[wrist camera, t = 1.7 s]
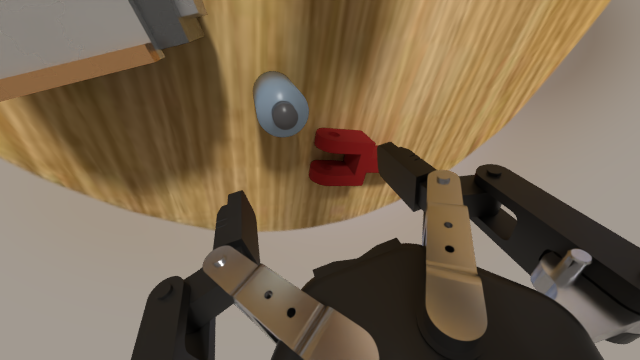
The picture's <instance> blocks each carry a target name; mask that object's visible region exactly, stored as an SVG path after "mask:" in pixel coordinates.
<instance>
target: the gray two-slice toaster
mask: <svg viewBox="0 0 640 360" xmlns="http://www.w3.org/2000/svg"><path fill="white" fill-rule="evenodd" d="M205 15H208V14H207V12H206V9H205V7H204V4H203V2H202V0H0V102H1V101H5V100H9V99H12V98H16V97H20V96H24V95H28V94H32V93H36V92H40V91H44V90H48V89H52V88H56V87H59V86H63V85H67V84H71V83H75V82H79V81H83V80H87V79H91V78H95V77H99V76H103V75H107V74H110V73H114V72H118V71H122V70H126V69H130V68H134V67H138V66H142V65H146V64H150V63H154V62H156V61H158V60H160V59H162V58H165V56H164V54H163V52H162V50H161V49H165V48H169V47H173V46H177V45H181V44H185V43H189V42H191V41H194V40H196V39H199V38H201V37H204V33H203V31H202V29H201V26H200V24H199V21H198V19H197V17H201V16H205Z"/></svg>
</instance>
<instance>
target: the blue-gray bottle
mask: <svg viewBox="0 0 640 360" xmlns="http://www.w3.org/2000/svg"><path fill="white" fill-rule="evenodd" d="M253 97H254V102H255V107H256V113H257V118H258V121H259V123H260V125H261V126H262V128H263V129H264V130H265V131H266V132H268V133H269V134H271V135H273V136H277V137H289V136H292V135H294V134H296V133H298V132H299V131H300V130H301V129H302V128H303V127H304V125H305V124H306V122H307V119H308V114H309V108H308V104H307V101H306V99H305V97H304V96H303V95H302V94H301V92H300V91H299V90H298V89H297V88H296V87H295V85H294V84H293V83H292V82H291V81H290V80H289V78H288V77H286V76H285V75H284V74H282V73H280V72H276V71H269V72H266V73H263V74H262V75H260V76H259V77H258V78H257V80H256V81H255V83H254V86H253Z"/></svg>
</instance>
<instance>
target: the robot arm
mask: <svg viewBox="0 0 640 360" xmlns="http://www.w3.org/2000/svg"><path fill="white" fill-rule="evenodd" d="M377 162H378V171H379V174H380V176H381V177H382V178H383V179H384V180H385V181H386V182H387V184H388V185H389V186H390V187H391V188H392V189H393V190H394V191H395V192H396V193H397V194H398V195H399V197H400V198H401V199H402V200H403V201H404V202H405V203H406V204H407V205H408V206H409V207H410V208H411V209H412V211H413V212H415V211H417V210H420V209H422V210H423V211H424V214H423V232H422V235H423V236H422V245H418V244H411V243H405V244H404V243H403V244H401V243H400V242H399V240H398V239H397V238H394V239H392V240H389V241H387V242H384V243H382V244H379V245H377V246H375V247H374V248H372V249H371V250H369V251H368V252H367V253H365V254H364V255H362V256H361V257H359V258H357V259H351V260H343V261H336V262H332V263H329V264H327V265H324V266H321V267H319V268H317V269H314V270H313V273H314V276H315V277H314V278H312V279H311V280H310V281H309V282H307V283H306V284H305V286H304V287H303V288H302V289H301V290H300V289H299V288H297V287H296V286H294V285H293V284H292V283H290V282H288V281H287V280H286V279H284V278H282V277H281V276H280V275H278V274H277V273H275V272H274V271H272V270H271V269H270V268H268V267H267V266H265V265H263V264H260V258H259V245H258V234H257V222H256V216H255V213H254V211H253V209H252V207H251V205H250V203H249V201H248V199H247V197H246V195H245V193H244V192H243V190H241V191H238V192H235V193H232V194H229V195H228V205H225V206H222V207H221V209H220V210H219V212H218V214H217V220H216V222H217V223H216V229H215V238H214V246H213V251H212V252H210V253H209V254H208V256H207V257H206V258H205V260H204V262H203V267H202V268H201V269H200V270H198V271H197V272H195V273H194V274H192V275H191V276H189V277H187V278H186V279H184V280H183V279H182V278H181V277H179V276H173V277H170V278H167V279H165V280H163V281H162V282H160V283H159V284H158V285H157V286H156V287H155V288H154V289H153V290H152V292H151V293H150V295H149V297H148V299H147V303H146V306H145V310H144V313H143V317H142V321H141V325H140V328H139V332H138V336H137V339H136V343H135V346H134V350H133V354H132V358H131V360H215V317H216V316H217V315H219V314H220V313H221V312H223V311H224V310H225V309H227V308H228V307H229V306H231V305H232V304H234V305H235V306H237V307H238V308H239V309H240V310H241V311H242V312H243V313H244V314H245V315H246V316H247V317H248V318H249V319H250V320H252V321H253V322H254V323H255V324H256V325H257V326H258V327H259V328H260V329H261V330H262V331H263V332H264V333H265V334H266V335H267V336H268V337H269V338H270V339H271V340H272V341H273V342H274V343H275V344H276V345H277V346H276V348H275V350H274V353H273V355H272V358H271V360H604V359H603V357H602V356H601V354H600V353H599V351H598V349H597V348H596V346H595V344H594V343H597V342H599V341H602V340H606V341H609V342H612V343H617V344H628V343H630V342H632V341H634V340H635V339H637V338H639V337H640V248H639V247H637V246H636V245H634V244H632V243H631V242H629V241H627V240H626V239H624V238H622V237H621V236H619V235H617V234H616V233H614V232H612V231H611V230H609V229H607V228H606V227H604V226H602V225H601V224H599V223H597V222H595V221H594V220H592V219H590V218H589V217H587V216H586V215H584V214H582V213H580V212H579V211H577V210H576V209H574V208H572V207H570V206H569V205H567V204H565V203H564V202H562V201H560V200H559V199H557V198H555V197H554V196H552V195H550V194H549V193H547V192H545V191H544V190H542V189H540V188H539V187H537V186H535V185H533V184H532V183H530V182H528V181H527V180H525V179H524V178H522V177H520V176H519V175H517V174H515V173H514V172H512V171H510V170H508V169H507V168H505V167H502V166H499V165H493V164H487V165H482V166H479V167H478V168H477V169H476V173H475V175H468V176H458V175H457V174H456V173H454V172H451V171H448V170H436V169H435V168H433V167H432V166H431V165H429V164H428V163H427V162H425V161H424V160H423V159H420V157H419V156H417V155H415V153H413V152H412V151H410V150H409V149H406V148H403V147H399V148H398V147H397V146H396V145H394V144H393V143H392V142H388V143H385V144H382V145H379V146H377ZM501 204H503V205H504V206H506V207H507V208H508V209H510V210H511V211H512V212H513V213H514V214H515V215H516V217H517V220H516V219H514V218H513V217H512V216H510V215H509V214H508V213H507V212H505V211H504V210H503V209H501V208H500V207H501ZM469 219H471V220H472V221H473V222H474V223H475V224H476V225H477V226H478V227H479V228H480V229H481V230H482V231H483V232H485V234H487V235H488V236H489V237H490V238H491V239H492V240H493V241H494V242H495V243H496V244H497V245H498V246H499V247H501V249H503V250H504V251H505V252H506V253H507V254H508V255H509V256H510V257H511V258H512V259H513V260H514V261H515V262H517V264H519V265H520V266H521V267H522V268H523V269H524V270H525V271H526V272H527V273H528V274H529V275H530V276H531V282H532V284H533V286H534V287H535V289H536V290H537V291H536V290H534V289H531V288H529V287H526V286H524V285H521V284H518V283H516V282H513V281H511V280H509V279H506V278H504V277H501V276H499V275H496V274H494V273H491V272H489V271H486V270H484V269H481V268H479V267H476V261H475V254H474V247H473V240H472V234H471V227H470V220H469Z"/></svg>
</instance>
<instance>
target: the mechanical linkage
mask: <svg viewBox="0 0 640 360" xmlns="http://www.w3.org/2000/svg"><path fill="white" fill-rule="evenodd" d="M314 144H315V146H316V147H317V148H319V149H321V150H323V151H325V152H329V153H335V154H345V156H344V160H343V161H339V160H314V161H313V162H311V165H310V170H309V178H310V179H311V180H312V181H313V182H315V183H317V184H320V185H324V186H362V184H363V181H364V178H365V175H366V173H379V171H378V162H377V146H375V144H376V143H375V142H374V141H372V140H371V139H370V138H369V137H368V136H367V135H366V134H365V133H364V132H362V131H359V130H346V129H332V128H319V129H317V131H316V136H315V142H314Z"/></svg>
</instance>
